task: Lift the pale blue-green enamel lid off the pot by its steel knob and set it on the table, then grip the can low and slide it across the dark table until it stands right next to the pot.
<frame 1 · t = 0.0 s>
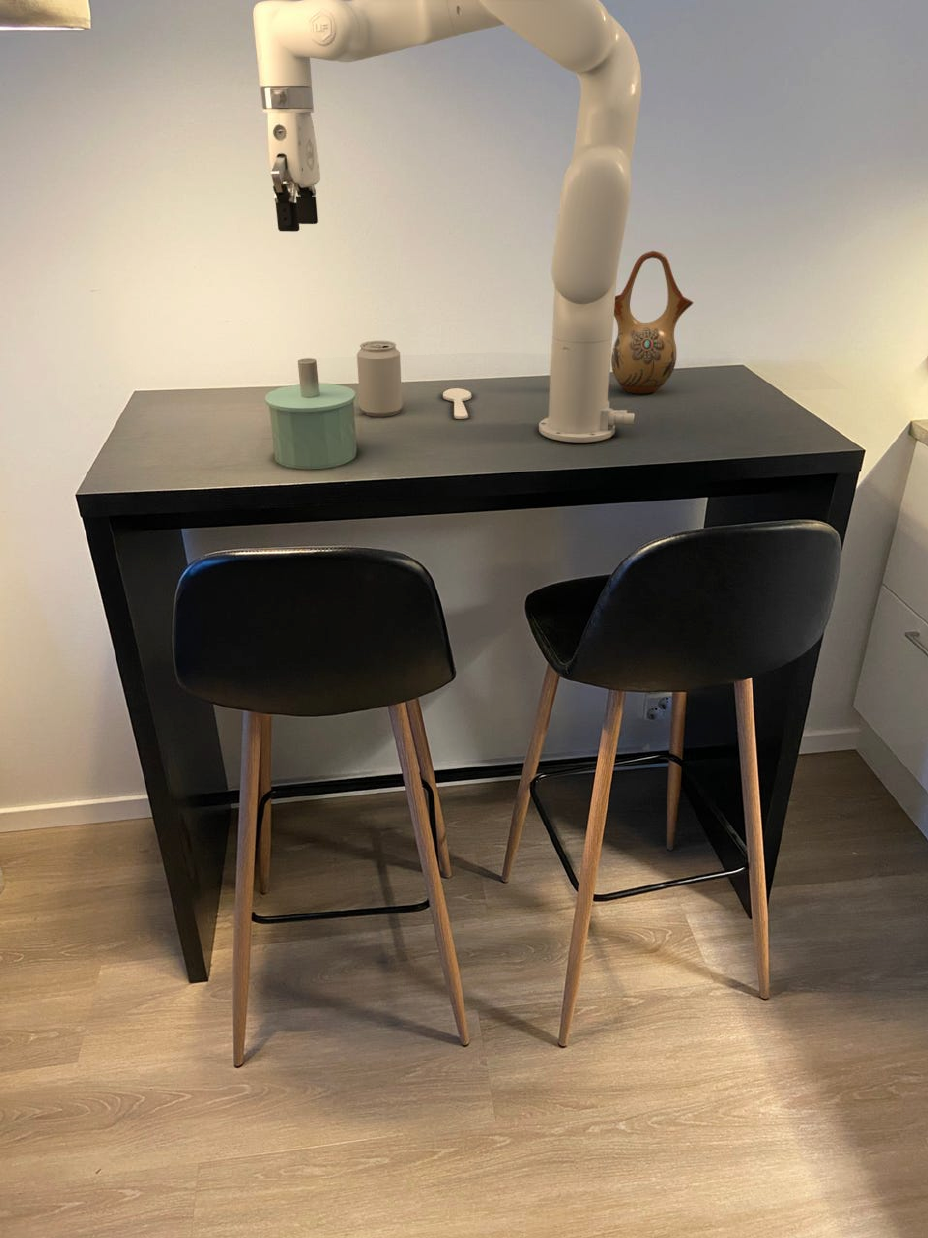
hand: (298, 227, 143), 31 cm above the table, tool pointing down, fingers open, 9 cm apart
pot lid: (310, 398, 139), point 9 cm above the table, touching pot
pot: (315, 455, 143), on the table
ceramic vessel: (640, 392, 173), on the table
can: (381, 412, 163), on the table
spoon: (458, 404, 166), on the table
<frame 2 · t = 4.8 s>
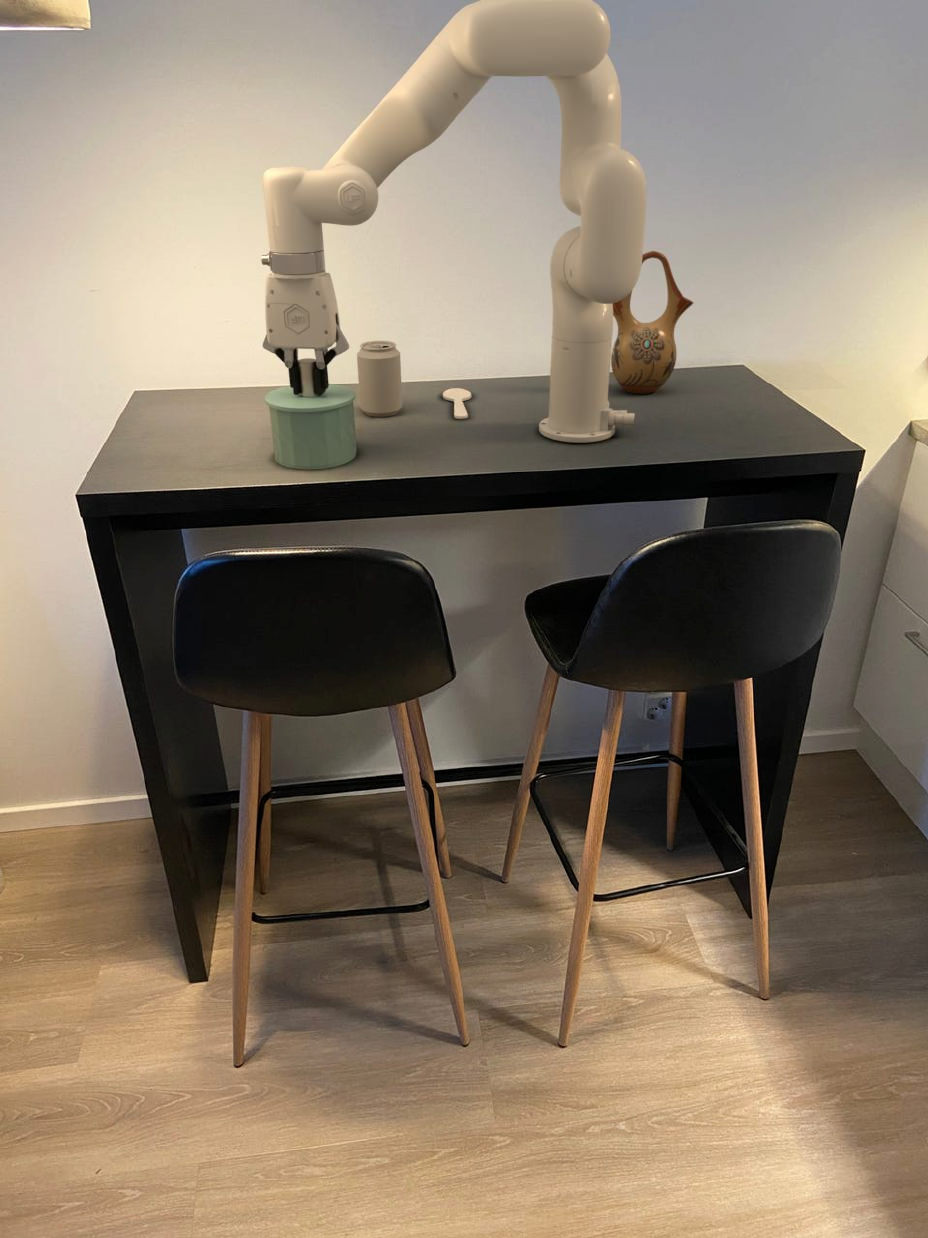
hand: (310, 391, 138), 10 cm above the table, tool pointing down, fingers closed on pot lid, 2 cm apart
pot lid: (310, 398, 139), point 9 cm above the table, touching gripper, pot
everything else where it was.
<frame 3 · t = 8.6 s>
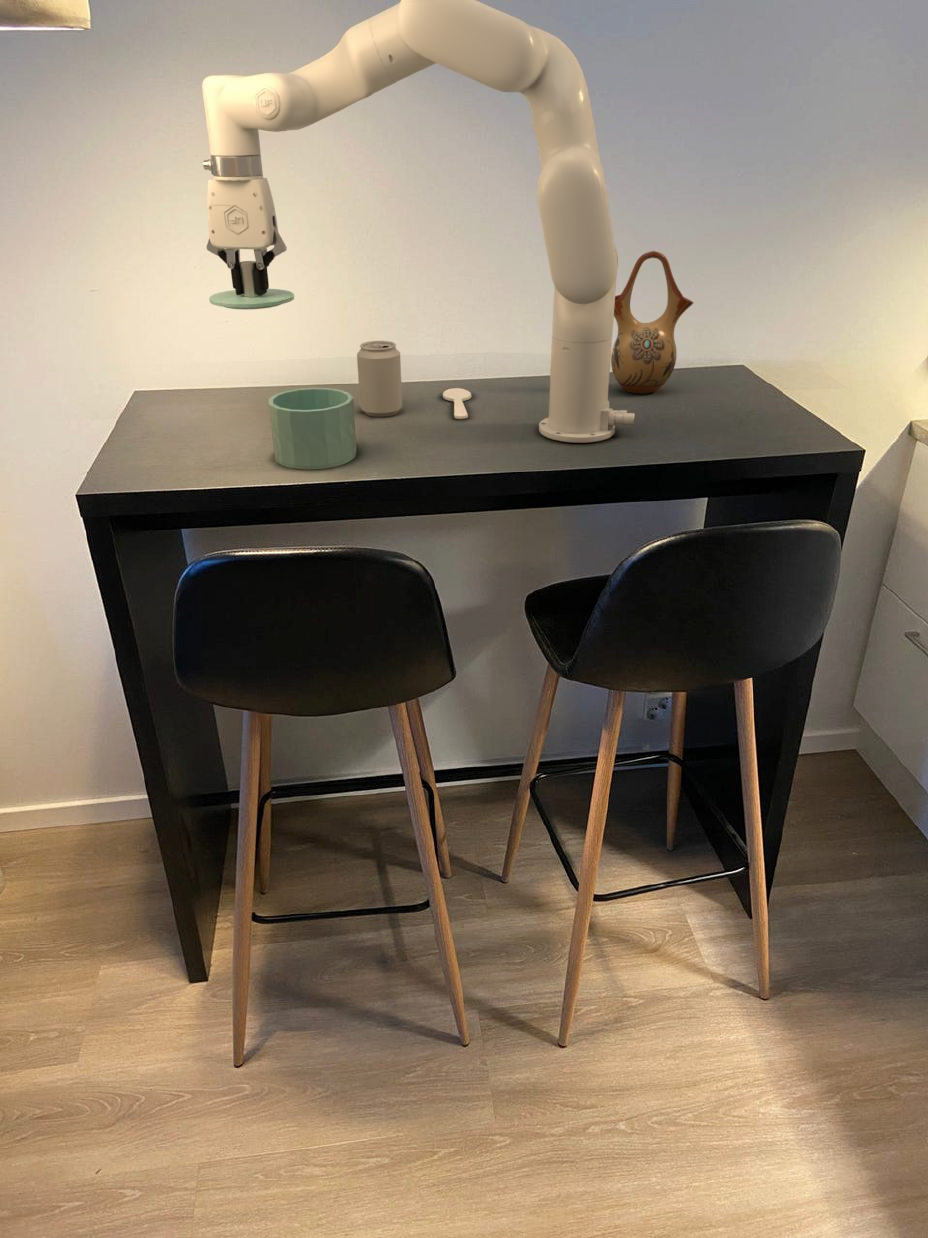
hand: (251, 292, 149), 21 cm above the table, tool pointing down, fingers closed on pot lid, 2 cm apart
pot lid: (252, 299, 149), point 20 cm above the table, touching gripper
everything else where it was.
when the fingers open (2 cm above the table, at t = 12.9 s): pot lid stays where it is, point 1 cm above the table.
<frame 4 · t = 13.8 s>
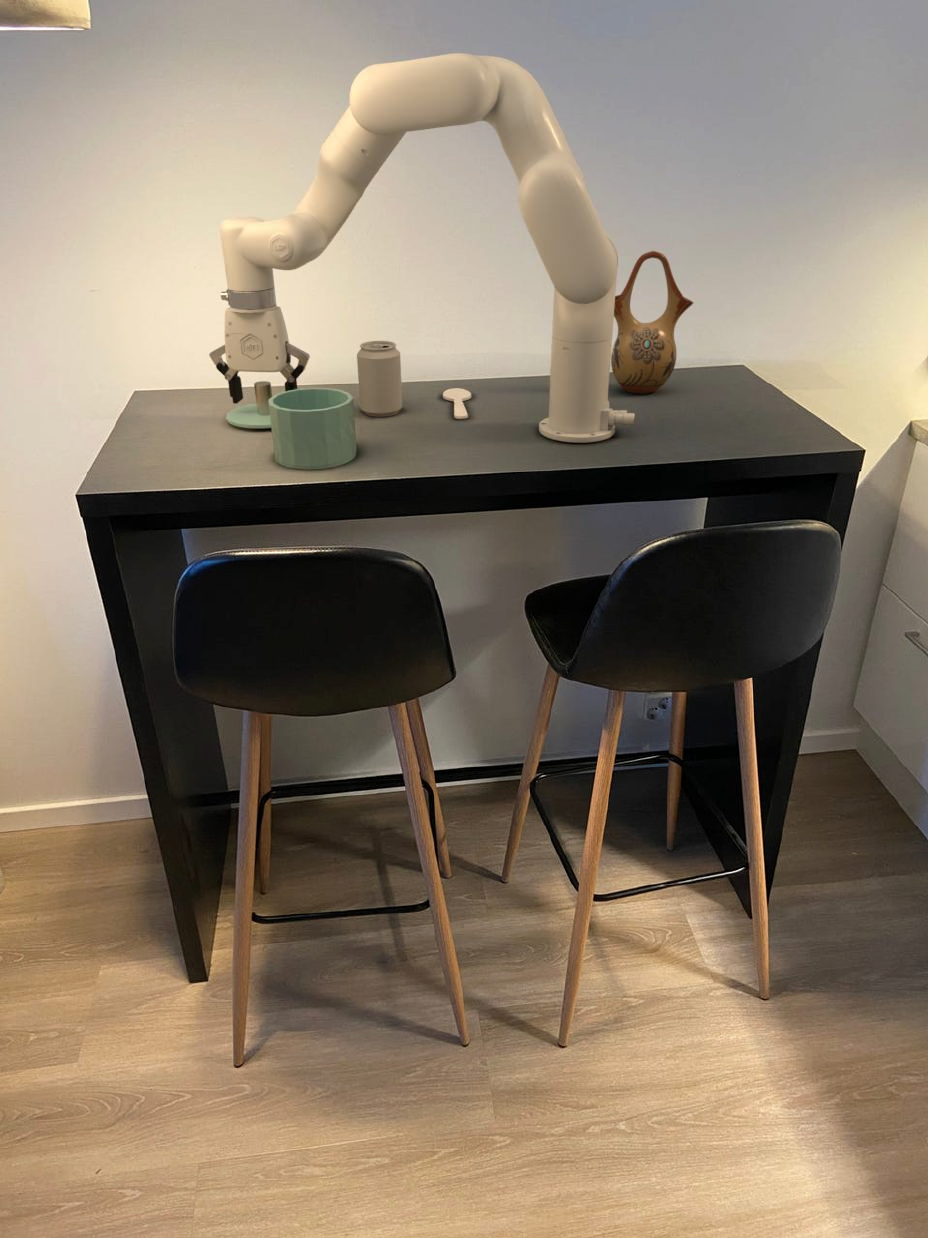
hand: (264, 402, 158), 3 cm above the table, tool pointing down, fingers open, 9 cm apart
pot lid: (266, 416, 159), point 1 cm above the table
everything else where it was.
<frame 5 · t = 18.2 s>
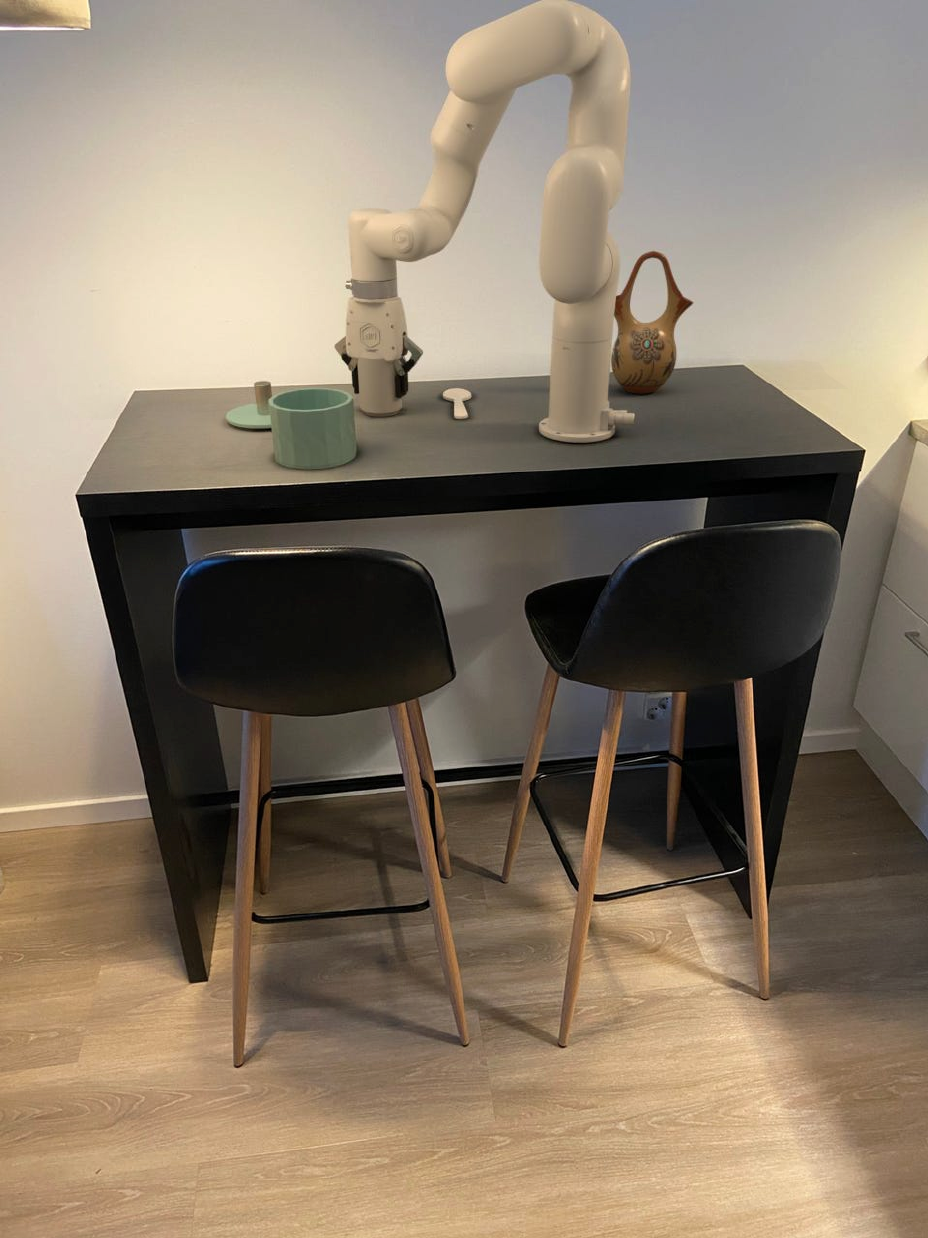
hand: (380, 393, 161), 3 cm above the table, tool pointing down, fingers closed on can, 7 cm apart
can: (381, 412, 163), on the table, touching gripper
everything else where it was.
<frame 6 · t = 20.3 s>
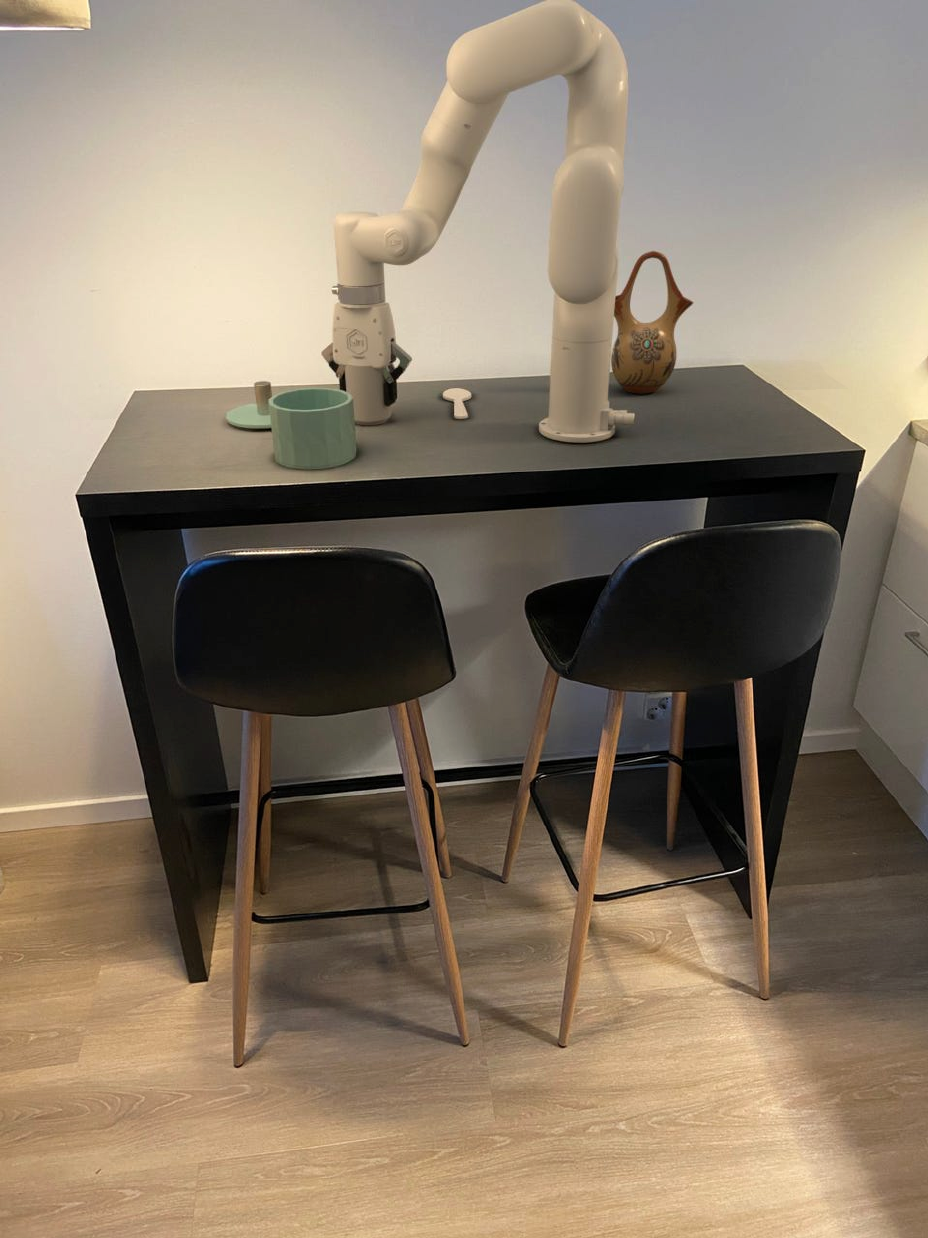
hand: (369, 401, 157), 3 cm above the table, tool pointing down, fingers closed on can, 7 cm apart
can: (370, 421, 159), on the table, touching gripper
everything else where it was.
when the fingers open (3 cm above the table, at t = 22.7 s): can stays where it is, on the table.
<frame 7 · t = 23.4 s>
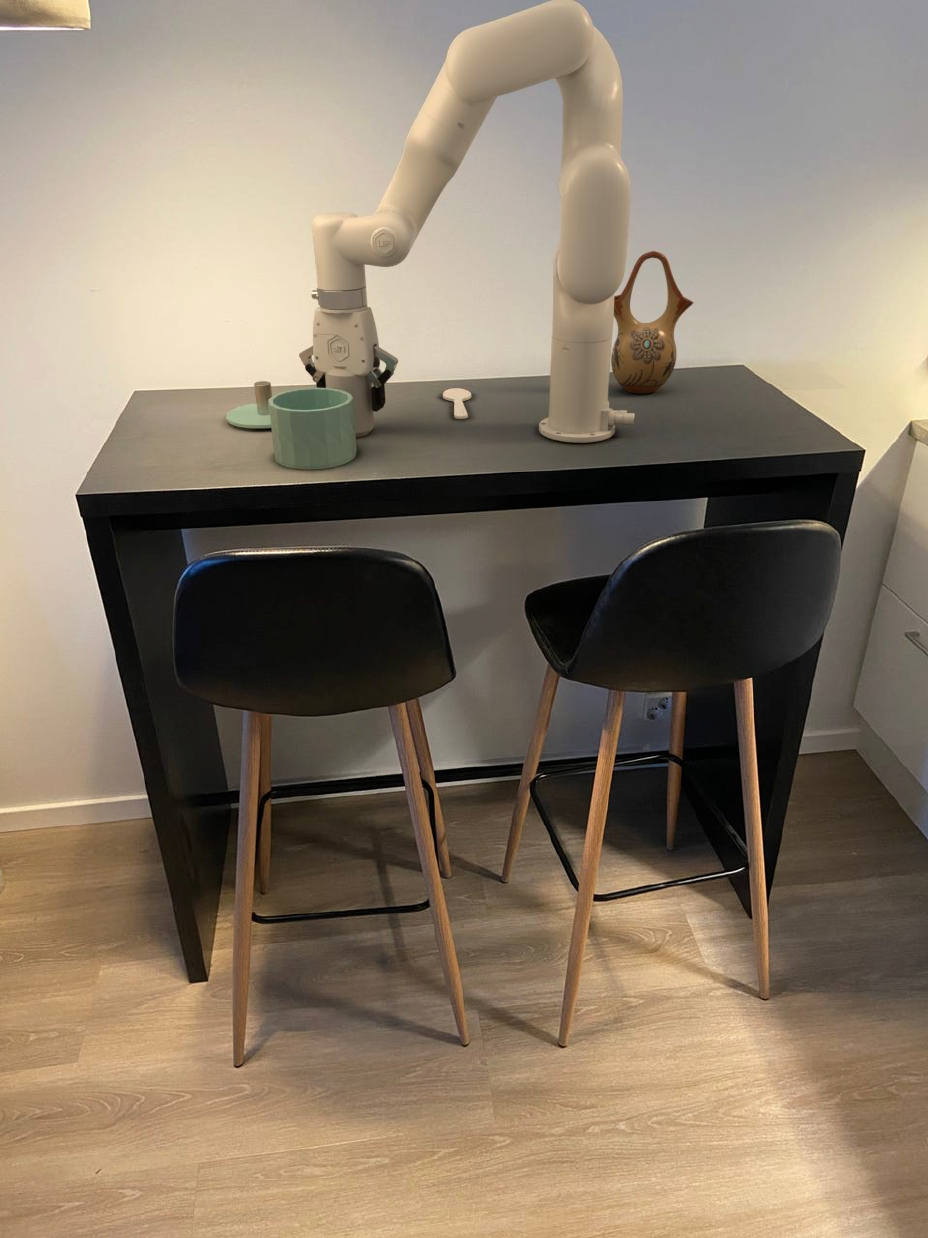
hand: (351, 406, 151), 4 cm above the table, tool pointing down, fingers open, 9 cm apart
can: (352, 432, 153), on the table
everything else where it was.
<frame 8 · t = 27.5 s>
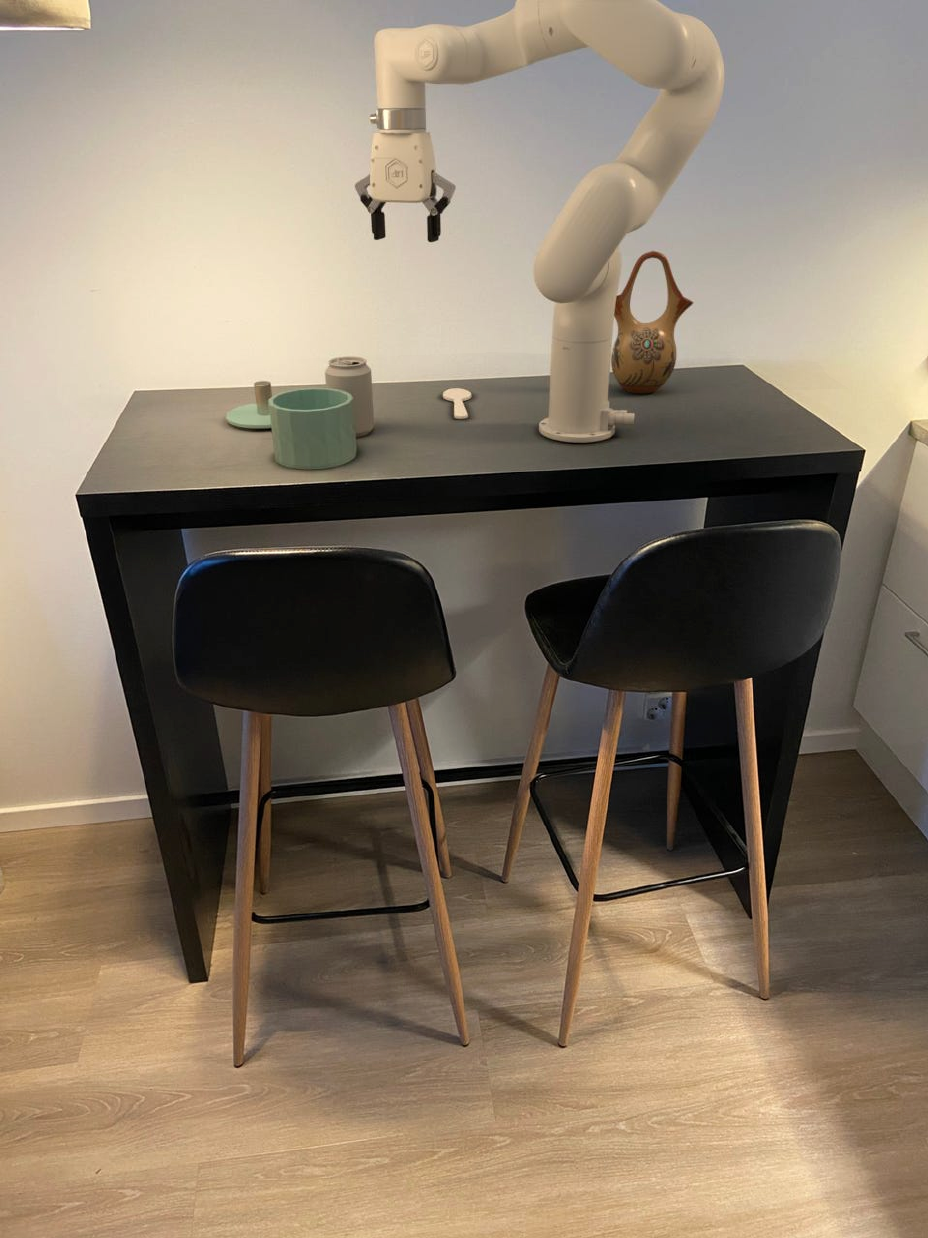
hand: (406, 239, 151), 28 cm above the table, tool pointing down, fingers open, 9 cm apart
nothing on the table moved.
at the end: pot lid inside the target area (0.0 cm from its centre), point 0.6 cm above the table; can 12.6 cm from the pot (horizontally); can tilted 0° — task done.
